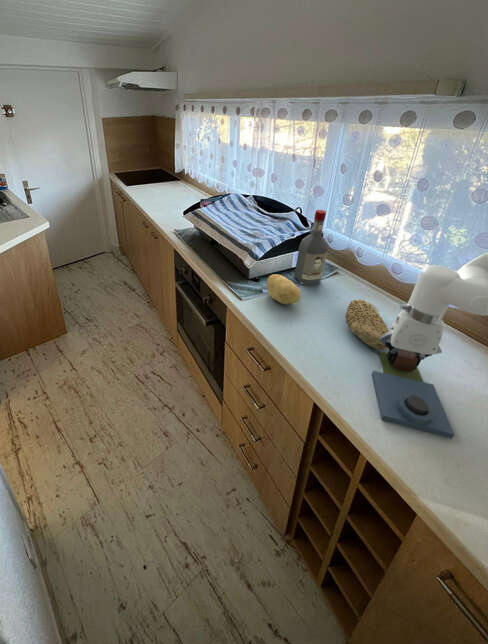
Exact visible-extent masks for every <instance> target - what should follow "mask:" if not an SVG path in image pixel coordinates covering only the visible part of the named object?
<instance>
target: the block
mask: <svg viewBox="0 0 488 644" xmlns="http://www.w3.org/2000/svg"><path fill="white" fill-rule="evenodd" d="M396 354H397V357H396V359H395V361H394V364H393V368H396V369H400V370H405V371H409V372H413V370H414V367H415V365H416V363H417V361H418V359H417V356H416V354H415V352H412V351H408V350H403V349H399V350H398V351H397V352H396Z"/></svg>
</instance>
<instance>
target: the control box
mask: <svg viewBox="0 0 488 644" xmlns="http://www.w3.org/2000/svg"><path fill="white" fill-rule="evenodd" d="M371 379H372V384H373V387H374V393H375V397H376V402H377V406H378V410H379V415H380V420H381V421H383V422H388V423H391V424H396V425H399V426H402V427H406V428H410V429H414V430H418V431H421V432H424V433H429V434H432V435H436V436H438V437H439V436H440V437H442V438H447V439H453V438H454V437H455V434H456V433H455V432H454V429H453V427H452V424H451V423H450V420H449V417H448V416H447V413H446V411H445V408H444V407H443V404H442V401H441V399H440V397H439V395H438V392H437V390H436V387H435V385H434V384H433V383H429V382H424V381H423V382H421V381H416V380H412V379H408V378H403V377H399V376H394V375H390V374H386V373H384V372H381V371H378V370H377V371H376V370H372V372H371ZM409 396H418V397H420V398H422V399H423V400H424V401H425V402H426V403H427V404H428V410H427V412H426V414H425V415H417V414H415V413H413V412H412V411H410V410H409V409H408V408H407V406H406V401H407V399H408V397H409Z"/></svg>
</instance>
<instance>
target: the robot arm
mask: <svg viewBox="0 0 488 644" xmlns="http://www.w3.org/2000/svg"><path fill="white" fill-rule="evenodd" d="M450 306H453V307H456V308H458V309H460V310H463V311H465V312H467V313H470V314H474V315H477V316H484V317H485V316H487V317H488V251H486V252H484V253H482V254H480V255H479V256H477V257H475V258H474V259H472V260H470V261H468V262H467V263H465V264H464V265H463V266H461V267H460V268H459V269H458V270H457V271H455V270H454V269H451V268H449V267H447V266H442V265H437V264H431V265H426V266H425V267H423V268H422V269H421V271H420V273H419V276H418V278H417V280H416V283H415V285H414V288H413V290H412V293H411V295H410V298H409V300H408V301H407V302H406V303H400V307H399V309H400V310H401V311H400V312H399V313H398V314H397V316H396V317H395V319H394V321H393V323H392V325H391V326H390V329H389V332H387V333H385V334H383V335H381V336H379V338H380V341H381V342H382V343H384V344H385V345H386V347H387V348H386V349H388V351H387V352H386V353H387V359H388V360H389V363H390V365H393V364H394V361H395V359H396V357H397V354H396V352H397V351H398V350H399V349H403V350H408V351H412V352H415V354H416V356H417V359H418V361H417V363H416V365H415V367H414V370H415V369H416V367H417V368H418V367H419V365H420V364H421V362H422V361H424V360H425V359H426V358H428V357H431V356H433V355H438V354H442V353H443V351H442V348H441V347H440V343H441V340H442V337H443V333H444V329H445V322H444V320H443V318H444V316H445V314H446V312H447V310H448V308H449V307H450ZM390 338H391V342H390V341H389V340H388V339H390Z"/></svg>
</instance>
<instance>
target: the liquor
mask: <svg viewBox="0 0 488 644" xmlns="http://www.w3.org/2000/svg"><path fill="white" fill-rule="evenodd" d="M326 216H327V211H326V210H324V209H316V210H315V213H314V217H313V218H314V220H313V225H312V229H311V232H310V234H308V235H306V236H305V237H304V238H302V240H301V241H300V243H299V246H298V252H297V258H296V263H295V268H294V273H293V277H294V276H295V277H296V278H297V279H298V280H299V281H300V282H302V283H303V284H305V285H304V286H307V287H308V286H314V285H319V284H320V282H321V280H322V276H323V273H324V267H325V263H326V260H327V256H328V252H329V251H328V250H329V244H328V242H327V241H326V239H325V238H324V237H323V229H324V228H323V227H324V223H325V220H326ZM295 277H294V278H295ZM296 278H295V279H296ZM297 279H296V280H297ZM298 280H297V281H298ZM299 281H298V282H299ZM300 282H299V283H300ZM303 284H302V285H303Z"/></svg>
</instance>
